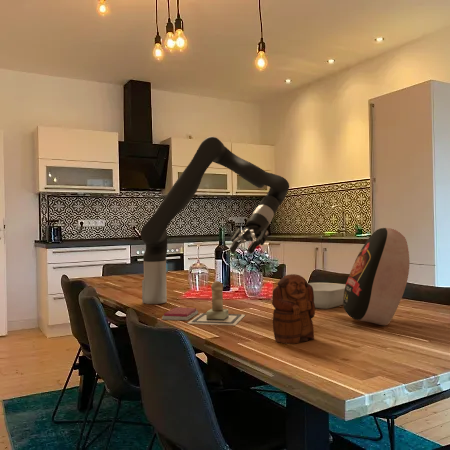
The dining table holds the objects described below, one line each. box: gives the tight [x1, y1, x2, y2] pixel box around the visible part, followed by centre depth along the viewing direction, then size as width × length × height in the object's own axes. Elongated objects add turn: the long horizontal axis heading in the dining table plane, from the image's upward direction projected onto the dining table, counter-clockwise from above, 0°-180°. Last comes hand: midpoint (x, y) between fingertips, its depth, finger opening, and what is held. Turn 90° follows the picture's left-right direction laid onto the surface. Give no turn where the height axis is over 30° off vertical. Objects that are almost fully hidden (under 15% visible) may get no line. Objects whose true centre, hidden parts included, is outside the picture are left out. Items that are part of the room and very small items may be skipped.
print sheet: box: [186, 312, 246, 327], centre depth 155 cm, size 16×16×1 cm
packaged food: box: [342, 227, 411, 326], centre depth 147 cm, size 22×20×30 cm
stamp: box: [205, 280, 229, 321], centre depth 155 cm, size 6×6×13 cm
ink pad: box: [161, 307, 199, 321], centre depth 161 cm, size 9×12×2 cm
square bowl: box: [307, 282, 346, 310], centre depth 179 cm, size 20×20×8 cm
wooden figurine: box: [271, 273, 316, 345], centre depth 126 cm, size 12×6×18 cm, turn 120°
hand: (240, 251), depth 164 cm, fingers open, 8 cm apart
